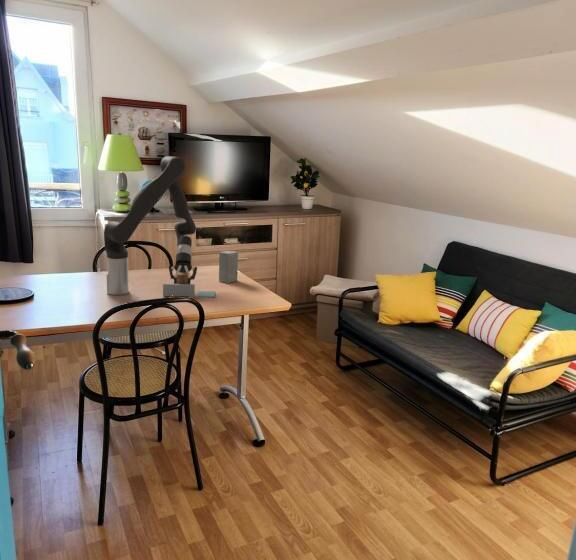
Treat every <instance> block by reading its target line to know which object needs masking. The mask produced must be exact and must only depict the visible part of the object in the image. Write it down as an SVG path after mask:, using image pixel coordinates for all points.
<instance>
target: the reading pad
mask: <svg viewBox="0 0 576 560" xmlns="http://www.w3.org/2000/svg"><path fill="white" fill-rule="evenodd" d="M215 295H216V294H215V291H214V290H208V291H207V290H198V292H197V298H215V297H216V296H215Z"/></svg>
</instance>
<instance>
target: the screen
mask: <svg viewBox="0 0 576 560" xmlns="http://www.w3.org/2000/svg"><path fill="white" fill-rule="evenodd" d="M195 288H196V285H195V283H192V284H191V283H190V284H174V283H162V297H163V296H172V295H173V296H189V297H188V298H195V296H196V295H195V294H196V292H195Z"/></svg>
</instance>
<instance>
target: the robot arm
mask: <svg viewBox="0 0 576 560" xmlns="http://www.w3.org/2000/svg"><path fill="white" fill-rule="evenodd" d="M185 162H186V161H185V160H184V159H183V158H181V157H179V156H169V155H168V156H167V155H166V156H164V157H163V158H162V159H161V161H160V170H161V173H160V174H159V175H158V177H156V178H154V179H153V180H151V181H150V182H148V183H147V184H145V185H143V187H142V188H141V189H140V190H139V191H138V193H137V194H136V195H135V196H134V198H133V199H132V202H131V206H130V209H129V212H128V213H127V215H126V216H125V217H124V218H123V219H122V220H121V221H120V222H118V221H109V222H108V223H107V224H106V225H105V226H104V230H103V239H104V242H103V243H104V250H105V252H106V262H107V264H106V265H107V267H106V268H107V271H106V272H107V273H106V294H109V295H112V296H121V295H126V294H128V293H129V291H130V290H129V288H130V287H129V251H128V249H126V247H125V243H126V242H128V241H129V239H130V238H131V237H132V235H133V234H134V233H135V232H136V229H137V228H138V227H139V225H140V223H141V222H142V221H143V220H144V219H145V217H147V215H148V214H149V213H150V212H151V210H152V209H154V207H155V205H156V204H158V202H159V200H160V199H161V198H162V197H163V196H164V195H165V193H166V192H167V191H168V193H169V194H170V198H171V201H172V207H173V210H174V215H175V217H176V218H178V219H183V220H184V221H182V220H181V221H177V222H175V225H174V232H175V235H176V249H175V250H176V251H175V264H174V265H173V266H171V265H169V266H168V273H169V276H170V280H173V284H177V272H186V273H188V282H187V284H191V281H192V280H193V281H194V280H195V278H196V275H197V272H198V267H197V266H195V267H193V266H192V256H193V255H192V242H193V241H192V238H191V237H190V236H189V235H191V236H192V235H194V234H195V233H196V231H197V225H196V223H195V221H194V220H193V218H192V216H191V213H190V210H189V205H188V200H187V197H186V196H185V194H184V193H185V192H184V191H183V190H182V188H181V185H180V182H179V180H178V179H179V178H180V177H181V176H182V175H183V174H184V172H185V170H186V163H185ZM174 271H175V274H174V273H173V272H174ZM191 271H192V274H191V273H190V272H191ZM190 274H191V275H190Z"/></svg>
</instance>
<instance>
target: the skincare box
mask: <svg viewBox="0 0 576 560" xmlns="http://www.w3.org/2000/svg"><path fill="white" fill-rule="evenodd" d="M218 254H219V255H218V281H219V282H222V283H225V284H230V283H235V282H238V272H239V271H238V268H239V266H238V264H239V261H238V260H239V252H237V251H233V250H227V251H226V250H224V251H219V253H218Z"/></svg>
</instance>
